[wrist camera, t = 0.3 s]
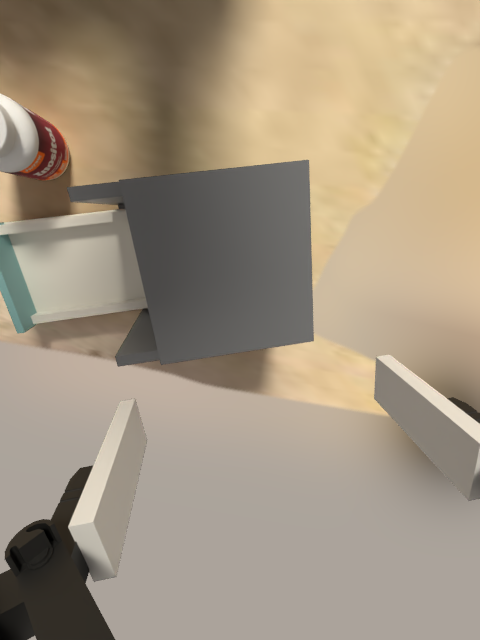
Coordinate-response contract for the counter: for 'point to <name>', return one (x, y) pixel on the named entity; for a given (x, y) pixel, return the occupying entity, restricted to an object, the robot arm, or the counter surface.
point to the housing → (217, 259)
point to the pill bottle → (30, 143)
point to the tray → (69, 268)
